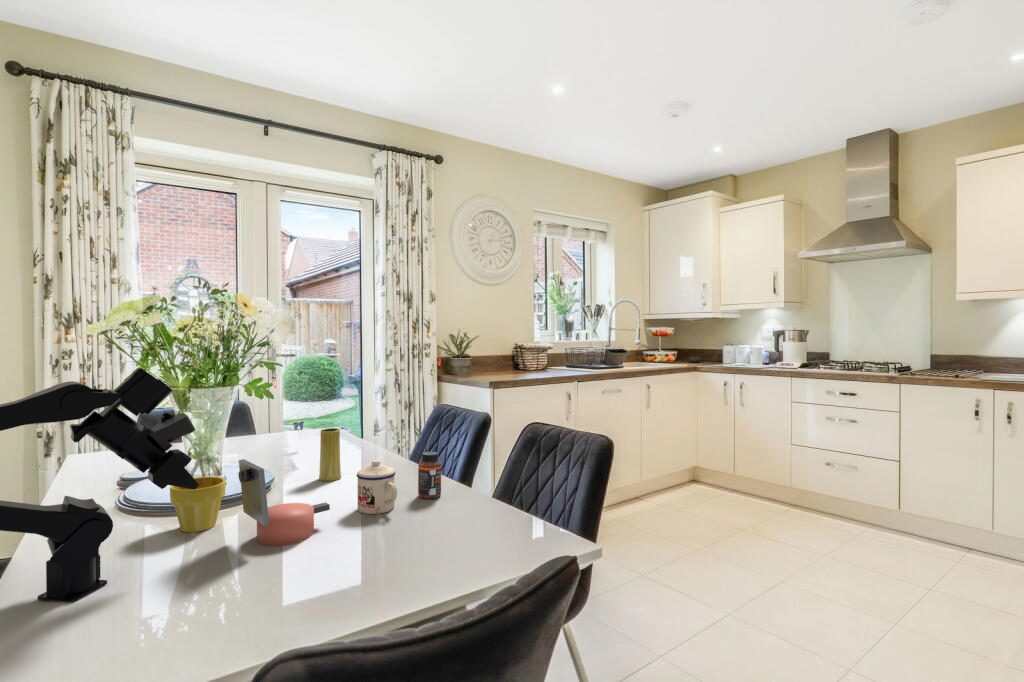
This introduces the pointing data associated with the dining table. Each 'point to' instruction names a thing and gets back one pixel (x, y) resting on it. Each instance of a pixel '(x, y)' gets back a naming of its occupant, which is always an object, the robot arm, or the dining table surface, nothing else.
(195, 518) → the plant pot
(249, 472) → the lid
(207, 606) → the dining table surface
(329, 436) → the vase
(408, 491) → the dining table surface
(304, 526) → the cooker pot
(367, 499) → the teacup with lid
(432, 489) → the supplement bottle
